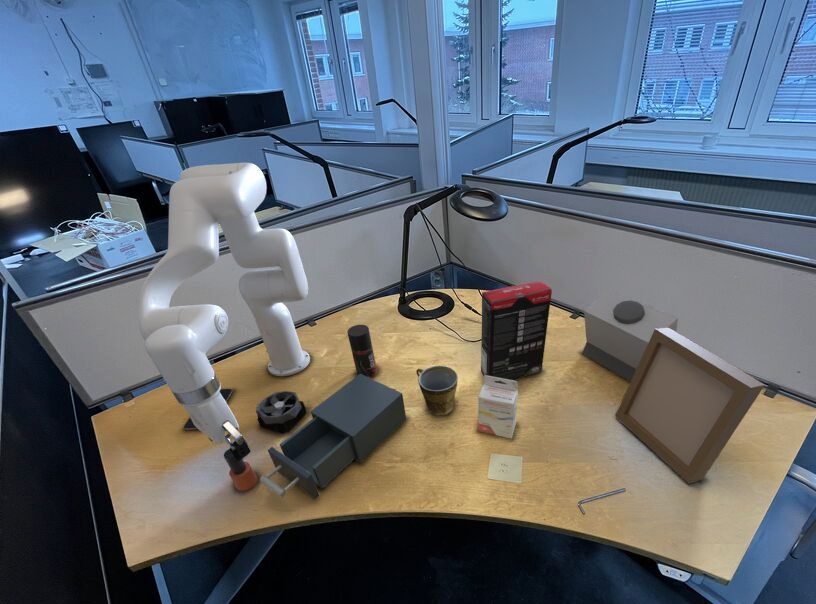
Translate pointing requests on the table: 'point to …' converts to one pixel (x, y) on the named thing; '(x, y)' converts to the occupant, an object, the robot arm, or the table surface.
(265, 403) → the cpu cooler
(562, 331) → the table surface
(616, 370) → the alarm clock
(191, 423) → the smartphone
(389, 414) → the cabinet
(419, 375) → the ceramic cup
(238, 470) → the nail polish bottle
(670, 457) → the photo frame
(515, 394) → the ink cartridge box
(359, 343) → the deodorant
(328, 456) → the drawer
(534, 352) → the graphics card box
